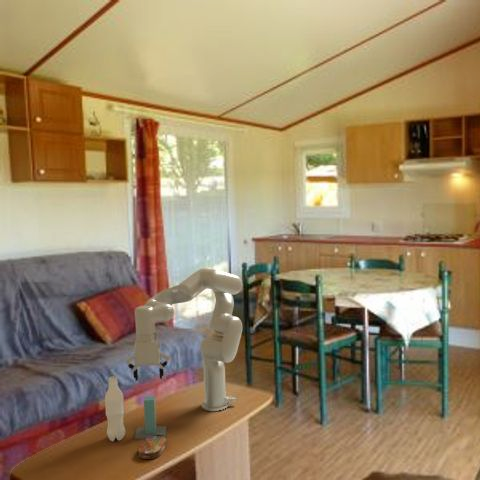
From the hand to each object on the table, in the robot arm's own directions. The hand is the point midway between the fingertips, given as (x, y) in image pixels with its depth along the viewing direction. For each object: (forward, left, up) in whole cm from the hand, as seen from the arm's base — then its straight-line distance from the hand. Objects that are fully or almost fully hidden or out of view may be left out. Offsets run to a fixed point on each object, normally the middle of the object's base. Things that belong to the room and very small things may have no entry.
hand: (149, 378), depth 212 cm
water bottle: (+14, +3, -23) cm, 27 cm away
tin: (+3, +13, -22) cm, 26 cm away
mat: (0, 0, -23) cm, 23 cm away
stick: (0, 0, -22) cm, 22 cm away
